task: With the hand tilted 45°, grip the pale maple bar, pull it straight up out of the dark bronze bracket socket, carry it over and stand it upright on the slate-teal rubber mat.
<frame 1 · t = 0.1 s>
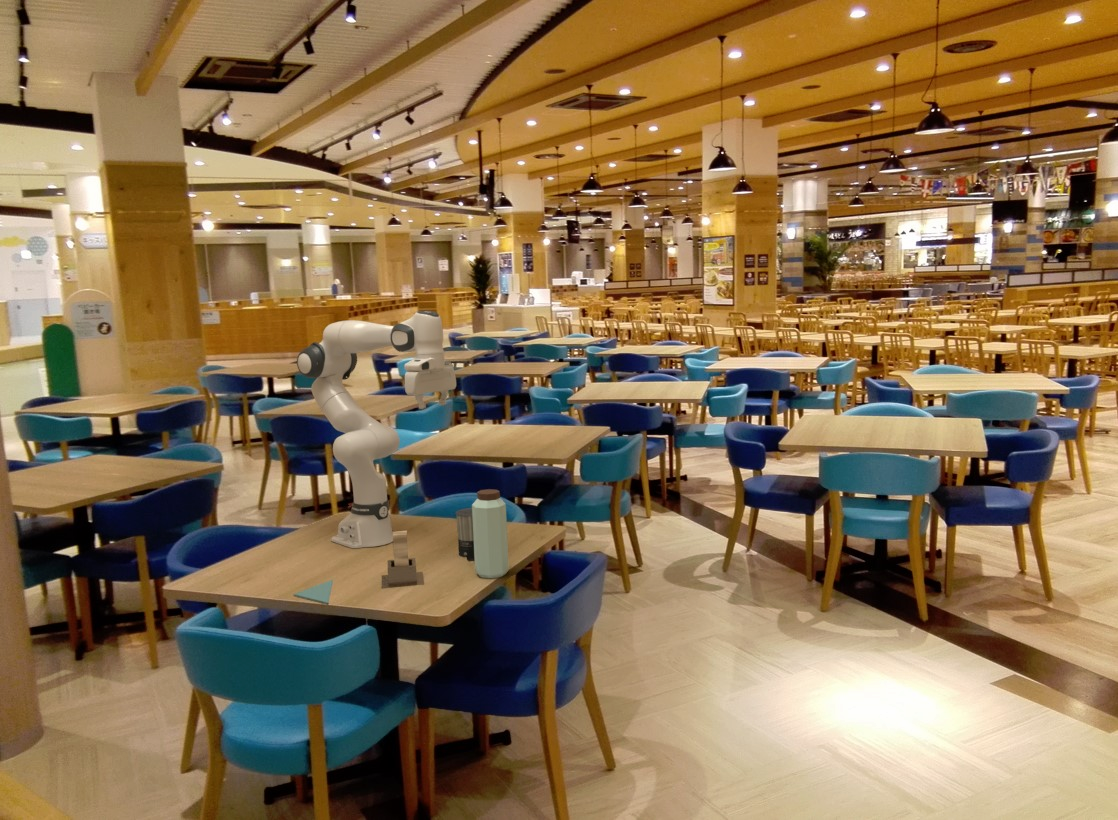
hand: (432, 406, 273), 48 cm above the table, tool pointing down, fingers open, 8 cm apart
teal mat: (334, 591, 247), on the table
water bottle: (492, 574, 258), on the table
maple bar: (402, 579, 253), point 1 cm above the table, touching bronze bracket
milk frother: (481, 554, 279), on the table
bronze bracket: (402, 583, 253), on the table
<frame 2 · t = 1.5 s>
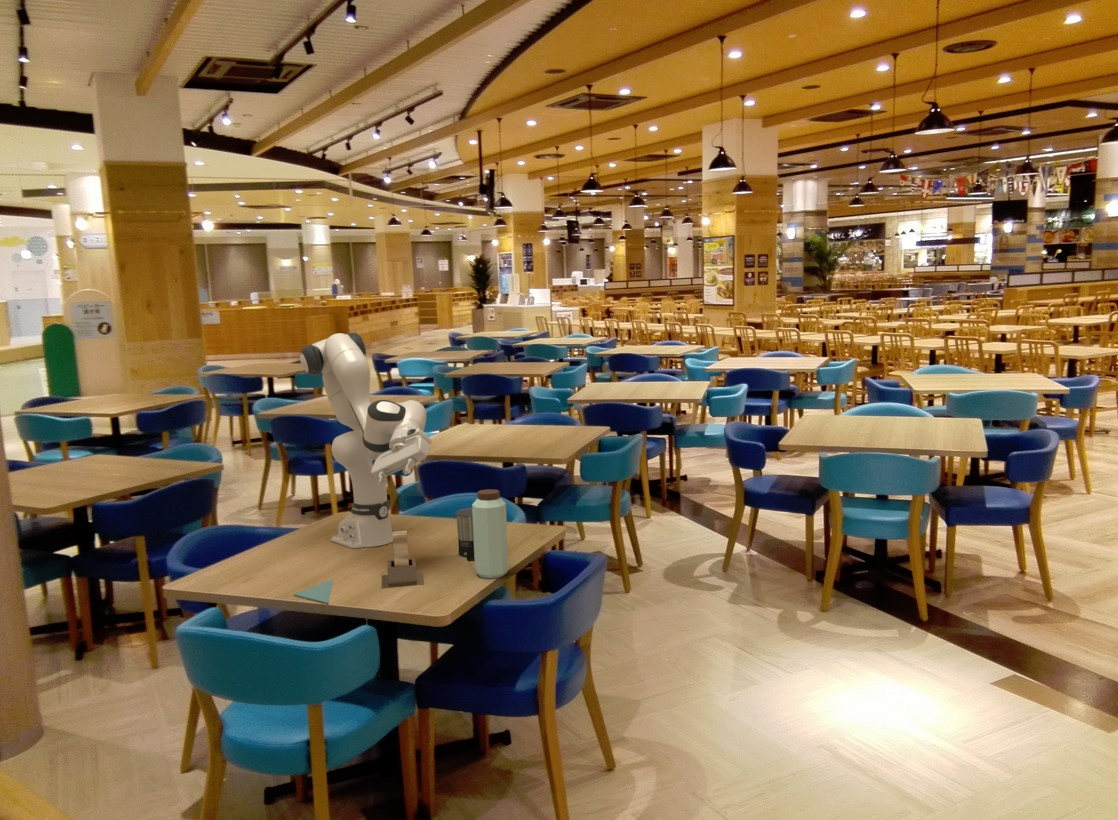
hand: (394, 478, 253), 30 cm above the table, tool tilted 55°, fingers open, 8 cm apart
nothing on the table moved.
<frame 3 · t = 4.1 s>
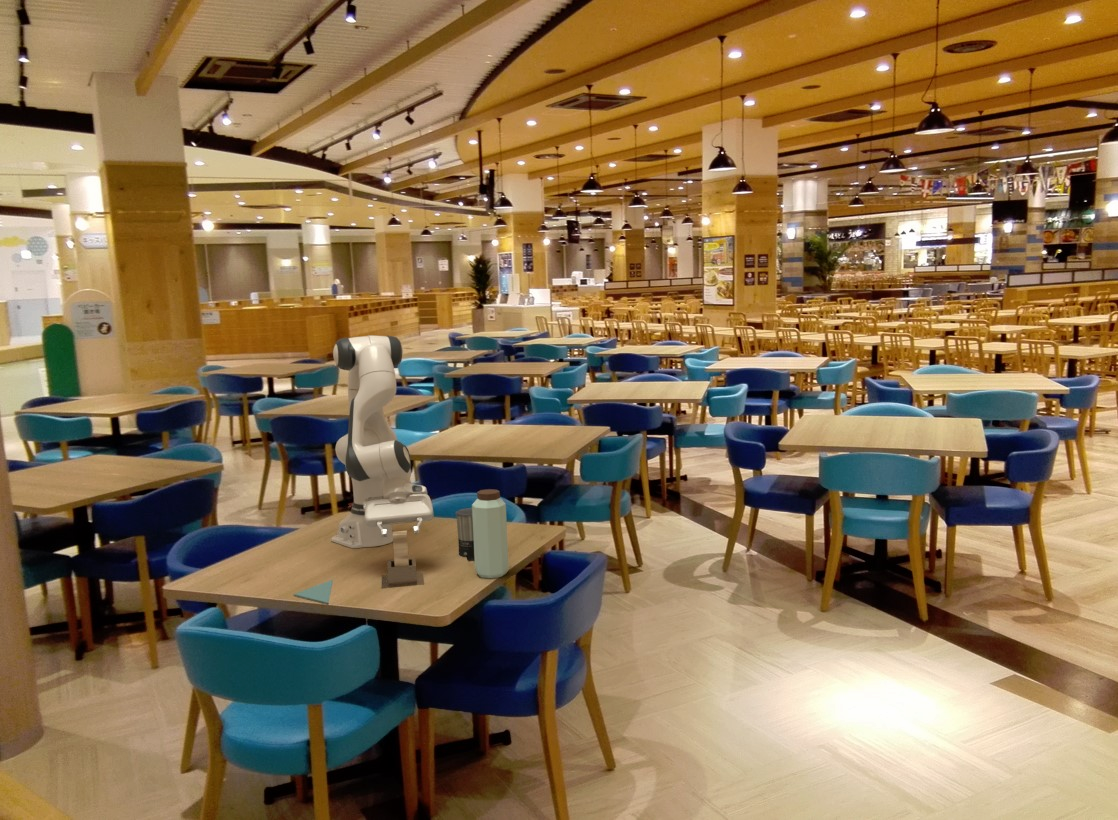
hand: (400, 534, 255), 13 cm above the table, tool tilted 45°, fingers open, 8 cm apart
nothing on the table moved.
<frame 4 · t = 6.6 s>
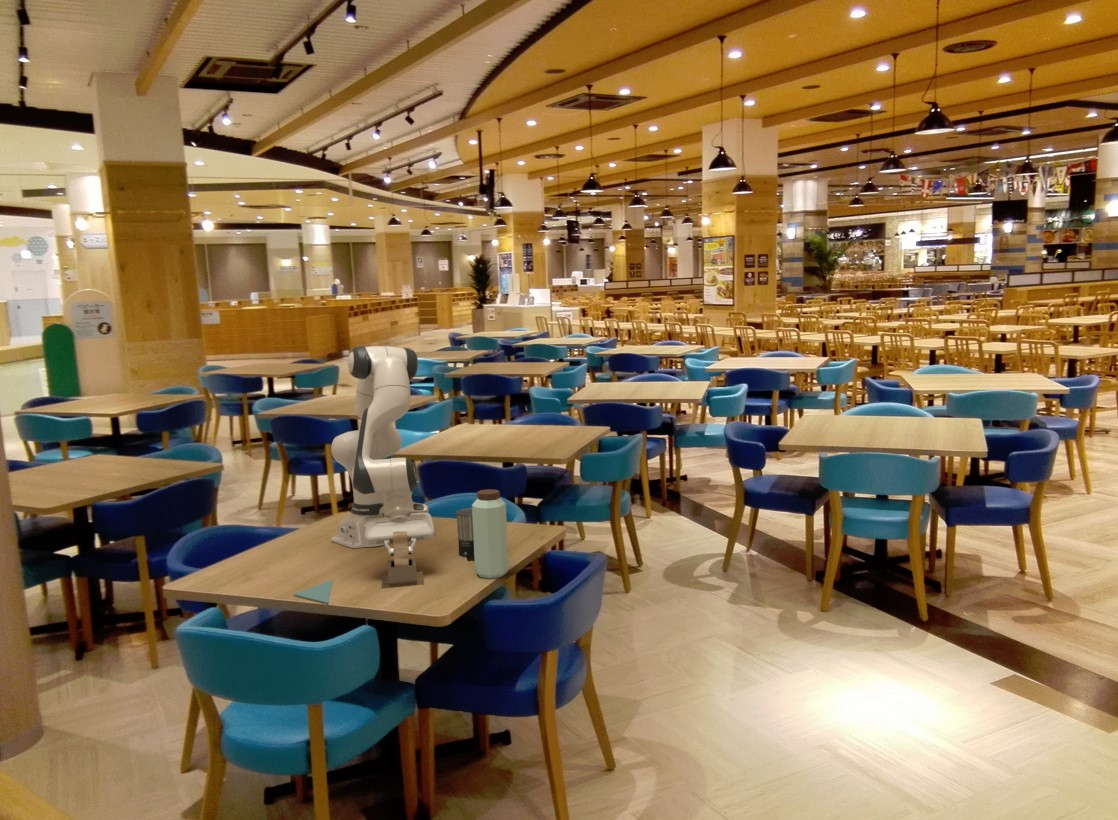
hand: (401, 554, 251), 9 cm above the table, tool tilted 45°, fingers closed on maple bar, 4 cm apart
maple bar: (402, 579, 253), point 1 cm above the table, touching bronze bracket, gripper
everything else where it was.
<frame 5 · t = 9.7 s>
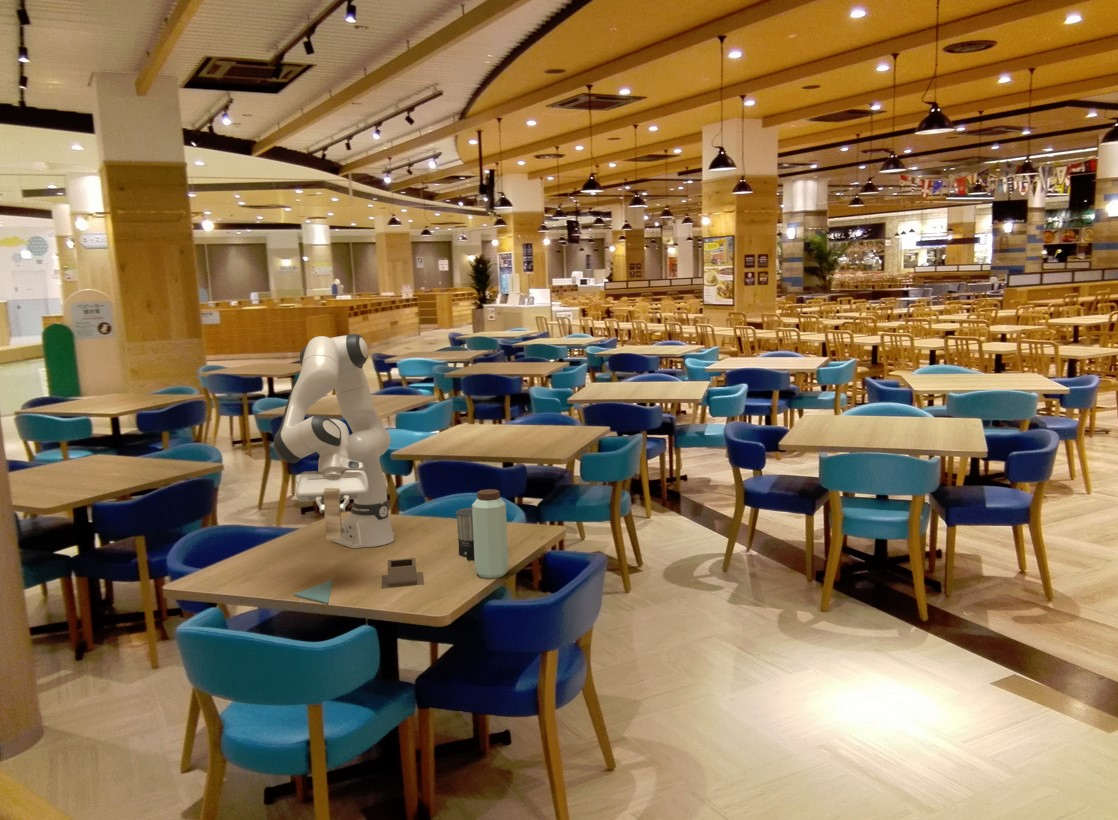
hand: (332, 511, 244), 23 cm above the table, tool tilted 45°, fingers closed on maple bar, 4 cm apart
maple bar: (334, 537, 246), point 16 cm above the table, touching gripper
everything else where it was.
when the fingers open (10 cm above the table, at t = 13.3 s): maple bar drops 2 cm, resting on teal mat.
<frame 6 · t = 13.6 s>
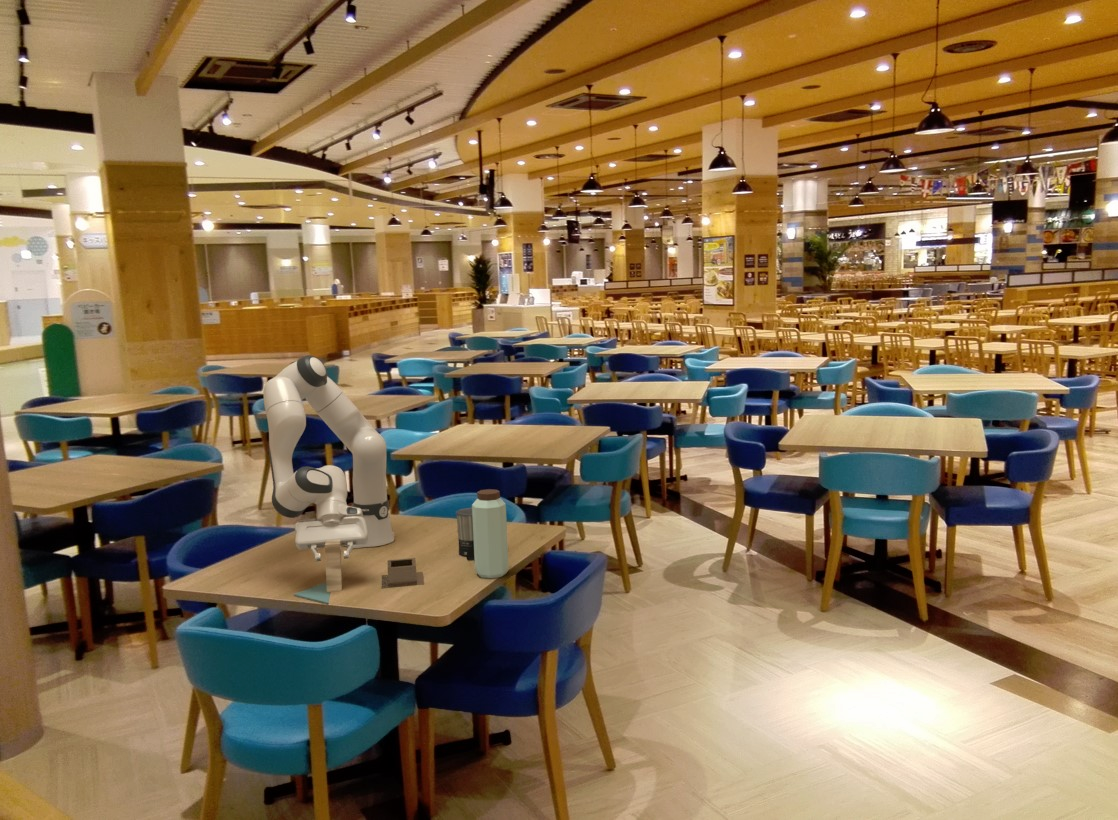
hand: (332, 559, 245), 10 cm above the table, tool tilted 45°, fingers open, 6 cm apart
maple bar: (334, 590, 247), point 1 cm above the table, touching teal mat
everything else where it was.
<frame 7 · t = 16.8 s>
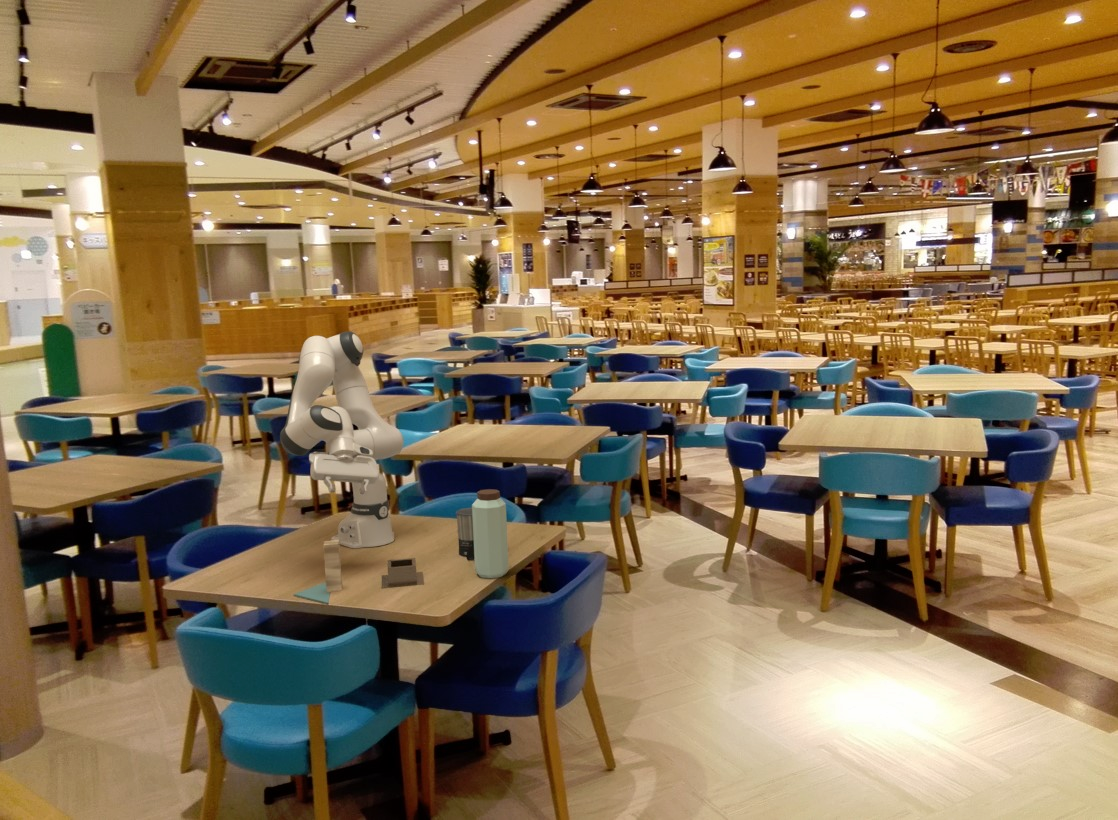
hand: (348, 492, 255), 26 cm above the table, tool tilted 45°, fingers open, 8 cm apart
nothing on the table moved.
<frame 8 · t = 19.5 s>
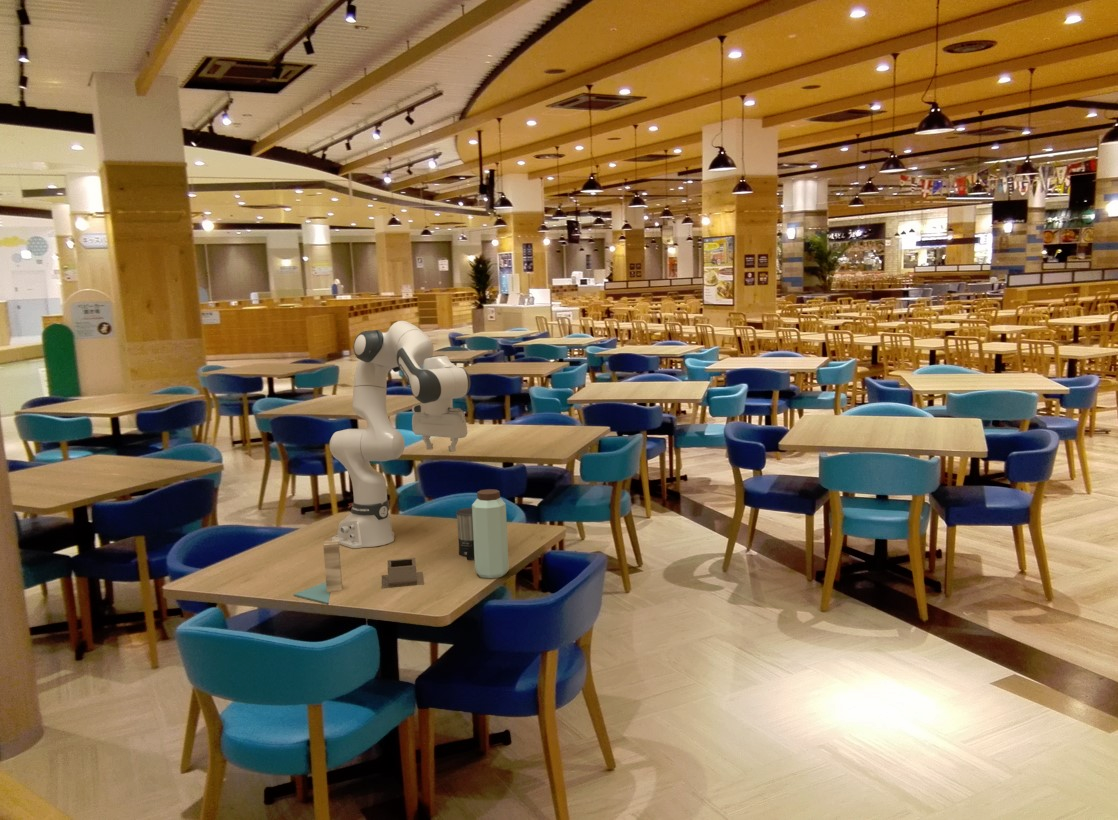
hand: (440, 450, 274), 34 cm above the table, tool pointing down, fingers open, 8 cm apart
nothing on the table moved.
at the end: maple bar inside the target area on the teal mat (0.1 cm from its centre), point 0.5 cm above the teal mat's base; maple bar tilted 0°; the gripper is holding nothing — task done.
